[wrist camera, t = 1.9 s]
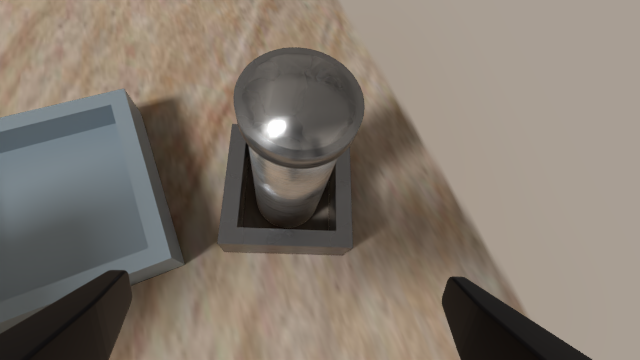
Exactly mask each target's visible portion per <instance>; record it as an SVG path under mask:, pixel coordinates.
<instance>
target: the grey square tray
mask: <svg viewBox="0 0 640 360" xmlns="http://www.w3.org/2000/svg"><path fill="white" fill-rule="evenodd" d="M249 158H250V152H249V146H248V144H247V143H246V141H245V140H244V138H243V136H242V135H241V133H240V130H239V127H238V124H232V130H231V138H230V146H229V154H228V162H227V170H226V178H225V186H224V194H223V202H222V210H221V218H220V226H219V234H218V242H217V244H218V245H219V246H220V247H221V248H222V250H223V251H224V252H242V253H278V254H313V255H344V254H345V253H347V252H348V251H349V250H351V249H352V248H353V238H352V205H351V173H350V146H349V148H348V149H347V150H346V151H345V152H344V153H343V154H342V155H341V156H340V157H338V159H337V161H336V163H335V166H334V168H333V170H332V173H331V175H330V177H329V231H324V230H297V229H270V228H244V227H242V226H243V216H244V206H245V195H246V185H247V175H248V165H249Z"/></svg>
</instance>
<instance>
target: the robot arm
mask: <svg viewBox="0 0 640 360" xmlns="http://www.w3.org/2000/svg"><path fill="white" fill-rule="evenodd" d="M131 299H132V292H131V286H130V280H129V274H128V272H127V271H126V270H108V271H106V272H105V273H103V274H101V275H100V276H98V277H96V278H94V279H93V280H91V281H89V282H88V283H86V284H84V285H82V286H81V287H79V288H77V289H76V290H74V291H72V292H71V293H69V294H67V295H65V296H64V297H62V298H60V299H59V300H57V301H55V302H53V303H52V304H50V305H48V306H47V307H45V308H43V309H41V310H40V311H38V312H36V313H35V314H33V315H31V316H29V317H28V318H26V319H24V320H23V321H21V322H19V323H18V324H16V325H14V326H12V327H11V328H9V329H7V330H6V331H4V332H2V333H0V360H109V357H110V355H111V352H112V350H113V347H114V345H115V342H116V340H117V337H118V334H119V332H120V329H121V327H122V324H123V322H124V319H125V316H126V314H127V311H128V309H129V306H130V303H131ZM442 306H443V309H444V312H445V315H446V318H447V321H448V324H449V327H450V330H451V333H452V336H453V339H454V342H455V345H456V348H457V350H458V353H459V356H460V358H461V360H592V359H590V358H589V357H587V356H586V355H584V354H583V353H581V352H580V351H578V350H576V349H575V348H573V347H572V346H570V345H569V344H567V343H565V342H564V341H563V340H561V339H559V338H558V337H556V336H555V335H553V334H552V333H550V332H548V331H547V330H546V329H544V328H542V327H541V326H539V325H538V324H536V323H535V322H533V321H532V320H530V319H528V318H527V317H525V316H524V315H522V314H521V313H519V312H518V311H516V310H514V309H513V308H511V307H510V306H508V305H507V304H505V303H504V302H502V301H500V300H499V299H497V298H496V297H494V296H493V295H491V294H490V293H488V292H486V291H485V290H483V289H482V288H480V287H479V286H477V285H476V284H474V283H473V282H471V281H469V280H468V279H466V278H465V277H450V278H449V279H448V281H447V284H446V287H445V290H444V293H443V296H442Z"/></svg>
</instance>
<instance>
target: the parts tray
mask: <svg viewBox="0 0 640 360" xmlns="http://www.w3.org/2000/svg"><path fill="white" fill-rule="evenodd" d="M183 265H185V263H184V260H183V256H182V253H181V249H180V246H179V243H178V239H177V236H176V232H175V229H174V225H173V222H172V218H171V215H170V212H169V208H168V205H167V201H166V198H165V194H164V191H163V187H162V184H161V181H160V177H159V174H158V170H157V167H156V163H155V160H154V157H153V153H152V150H151V146H150V143H149V139H148V136H147V132H146V129H145V126H144V122H143V119H142V115H141V113H140V111H139V110H138V108H137V107H136V105H135V104H134V102H133V101H132V100H131V98H130V97H129V95H128V94H127V92H126V91H125V89H120V90H116V91H111V92H107V93H103V94H99V95H94V96H90V97H86V98H82V99H77V100H73V101H69V102H65V103H61V104H56V105H52V106H48V107H44V108H39V109H35V110H31V111H27V112H22V113H18V114H14V115H10V116H5V117H1V118H0V333H2V332H4V331H6V330H7V329H9V328H11V327H12V326H14V325H16V324H18V323H19V322H21V321H23V320H24V319H26V318H28V317H29V316H31V315H33V314H35V313H36V312H38V311H40V310H41V309H43V308H45V307H47V306H48V305H50V304H52V303H53V302H55V301H57V300H59V299H60V298H62V297H64V296H65V295H67V294H69V293H71V292H72V291H74V290H76V289H77V288H79V287H81V286H82V285H84V284H86V283H88V282H89V281H91V280H93V279H94V278H96V277H98V276H100V275H101V274H103V273H105V272H106V271H108V270H126V271H127V272H128V274H129V280H130V286H131V285H134V284H136V283H139V282H142V281H144V280H147V279H149V278H152V277H154V276H157V275H160V274H162V273H165V272H167V271H170V270H172V269H175V268H178V267H180V266H183Z"/></svg>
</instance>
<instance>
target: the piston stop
mask: <svg viewBox="0 0 640 360" xmlns="http://www.w3.org/2000/svg"><path fill="white" fill-rule="evenodd" d="M234 107H235V113H236V118H237V123H238V127H239V130H240V133H241V135H242V136H243V138H244V140H245V141H246V143H247V144H248V146H249V152H250V159H251V166H252V172H253V179H254V186H255V192H256V199H257V205H258V208H259V210H260V212H261V214H262V215H263V217H264V218H265V219H266V220H267V221H269V222H270V223H272V224H274V225H276V226H279V227H284V228H290V227H296V226H299V225H301V224H303V223H305V222H306V221H308V220H309V219H310V218H311V216H312V215H313V214H314V212H315V210H316V208H317V205H318V203H319V201H320V198H321V196H322V194H323V191H324V189H325V187H326V184H327V182H328V180H329V177H330V175H331V173H332V170H333V168H334V166H335V163H336V161H337V159H338V157H340V156H341V155H342V154H343V153H344V152H345V151H346V150H347V149H348V148H349V146H350V145H351V143H352V142H353V140H354V138H355V136H356V133H357V131H358V129H359V127H360V125H361V123H362V119H363V116H364V98H363V93H362V91H361V88H360V86H359V84H358V82H357V80H356V79H355V77H354V76H353V74H352V73H351V72H350V71H349V70H348V69H347V68H346V67H345V66H344V65H343V64H342V63H340V62H339V61H337V60H336V59H334V58H332V57H331V56H329V55H326V54H324V53H322V52H319V51H316V50H311V49H307V48H282V49H277V50H274V51H270V52H268V53H265V54H263V55H261V56H259V57H258V58H256V59H255V60H253V61H252V62H251V63H250V64H249V65H248V66H247V67H246V68H245V69H244V70H243V72H242V73H241V75H240V76H239V78H238V80H237V83H236V86H235V89H234Z"/></svg>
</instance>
